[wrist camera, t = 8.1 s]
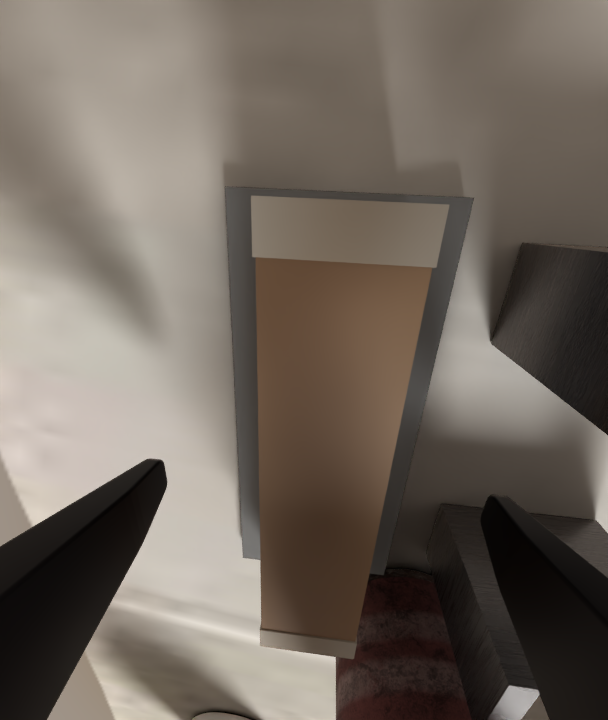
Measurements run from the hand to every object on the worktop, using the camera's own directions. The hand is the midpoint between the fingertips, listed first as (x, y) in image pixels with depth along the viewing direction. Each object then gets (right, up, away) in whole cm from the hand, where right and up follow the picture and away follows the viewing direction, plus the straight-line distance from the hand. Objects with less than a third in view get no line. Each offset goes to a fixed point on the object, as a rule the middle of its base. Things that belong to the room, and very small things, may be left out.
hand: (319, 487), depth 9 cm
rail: (0, +1, +2) cm, 3 cm away
